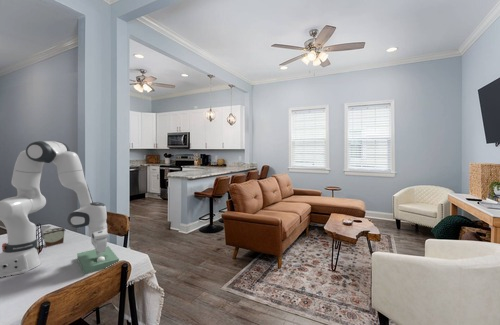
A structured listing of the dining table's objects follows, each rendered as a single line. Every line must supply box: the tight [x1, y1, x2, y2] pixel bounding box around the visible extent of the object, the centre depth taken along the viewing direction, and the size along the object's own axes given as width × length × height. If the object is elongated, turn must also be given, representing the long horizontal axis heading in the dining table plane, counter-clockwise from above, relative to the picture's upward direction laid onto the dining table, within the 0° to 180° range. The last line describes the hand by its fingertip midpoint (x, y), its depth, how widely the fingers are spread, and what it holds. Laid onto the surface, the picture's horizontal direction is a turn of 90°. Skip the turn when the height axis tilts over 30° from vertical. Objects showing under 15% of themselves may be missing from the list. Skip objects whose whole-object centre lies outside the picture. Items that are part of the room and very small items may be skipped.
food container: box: [42, 227, 66, 248], centre depth 159 cm, size 12×6×10 cm, turn 144°
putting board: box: [76, 246, 120, 275], centre depth 135 cm, size 16×24×3 cm, turn 43°
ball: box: [97, 256, 105, 262], centre depth 131 cm, size 4×4×4 cm
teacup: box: [40, 225, 52, 240], centre depth 170 cm, size 15×12×8 cm
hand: (98, 255), depth 133 cm, fingers closed
